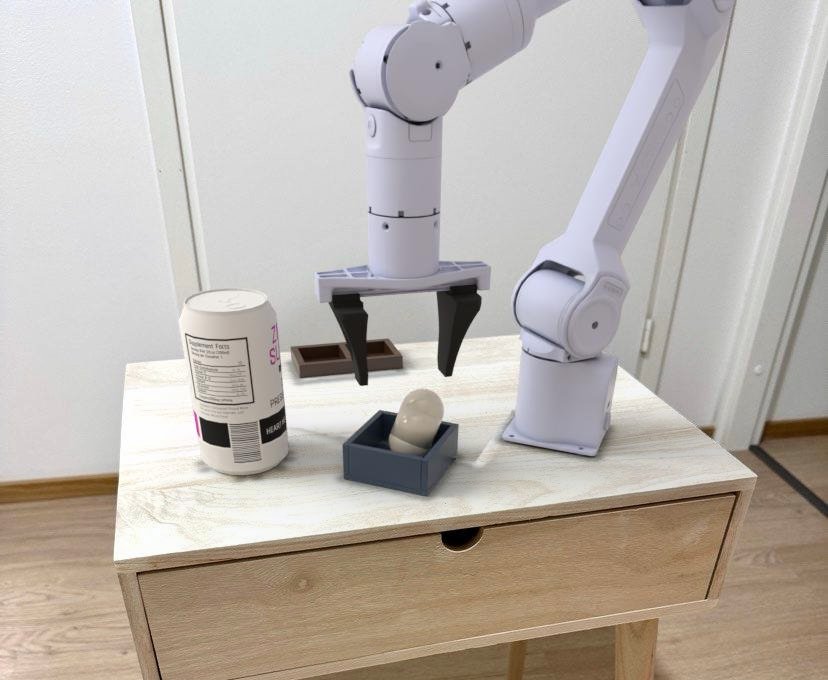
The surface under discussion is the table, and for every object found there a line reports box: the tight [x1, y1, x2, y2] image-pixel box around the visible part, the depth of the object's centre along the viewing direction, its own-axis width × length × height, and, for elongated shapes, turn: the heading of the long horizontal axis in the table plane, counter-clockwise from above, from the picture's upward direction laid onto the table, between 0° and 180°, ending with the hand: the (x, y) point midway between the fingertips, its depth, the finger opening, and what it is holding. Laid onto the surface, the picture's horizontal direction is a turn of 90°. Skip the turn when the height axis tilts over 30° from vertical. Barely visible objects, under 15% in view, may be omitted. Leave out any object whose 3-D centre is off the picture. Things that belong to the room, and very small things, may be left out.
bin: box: [341, 409, 460, 497], centre depth 70 cm, size 8×8×4 cm
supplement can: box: [178, 287, 289, 476], centre depth 68 cm, size 8×8×15 cm
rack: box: [290, 337, 404, 379], centre depth 91 cm, size 7×12×2 cm, turn 106°
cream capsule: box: [388, 388, 445, 457], centre depth 70 cm, size 4×4×7 cm
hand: (403, 377), depth 67 cm, fingers open, 7 cm apart
